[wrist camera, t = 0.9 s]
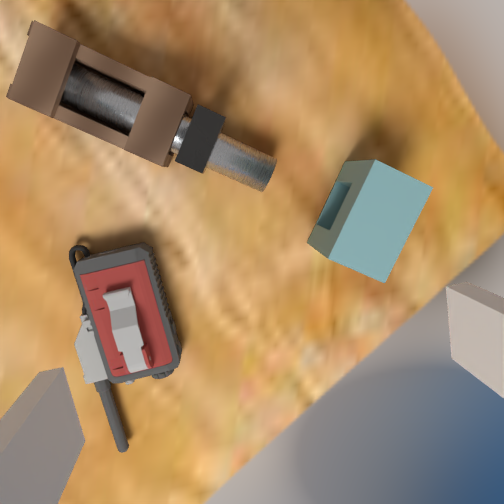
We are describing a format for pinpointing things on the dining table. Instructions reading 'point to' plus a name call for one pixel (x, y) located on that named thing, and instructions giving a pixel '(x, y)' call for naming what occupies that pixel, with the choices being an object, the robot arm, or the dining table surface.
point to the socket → (368, 217)
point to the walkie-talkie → (123, 323)
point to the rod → (188, 135)
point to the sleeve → (72, 52)
